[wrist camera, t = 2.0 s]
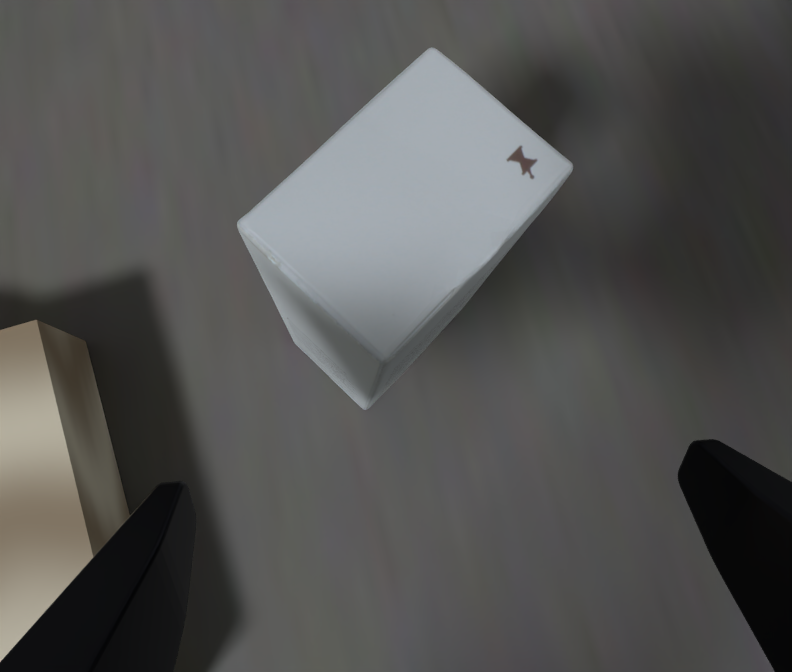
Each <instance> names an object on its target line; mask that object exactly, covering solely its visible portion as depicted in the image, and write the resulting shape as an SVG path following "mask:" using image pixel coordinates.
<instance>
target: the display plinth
mask: <svg viewBox="0 0 792 672" xmlns="http://www.w3.org/2000/svg"><path fill="white" fill-rule="evenodd" d="M129 516H130V514H129V510H128V506H127V502H126V498H125V494H124V490H123V486H122V482H121V478H120V474H119V470H118V467H117V463H116V459H115V455H114V451H113V447H112V443H111V439H110V435H109V431H108V427H107V423H106V419H105V415H104V411H103V407H102V403H101V400H100V396H99V392H98V388H97V384H96V380H95V376H94V372H93V368H92V364H91V360H90V356H89V352H88V348H87V344H86V341H84V340H82V339H80V338H77V337H75V336H73V335H70V334H68V333H66V332H64V331H61V330H59V329H57V328H55V327H52V326H50V325H48V324H45V323H43V322H41V321H39V320H33V321H30V322H27V323H23V324H20V325H16V326H13V327H9V328H6V329H2V330H0V662H1V660H2V659H3V658H4V657H5V656H6V655H7V654H8V653H9V651H10V650H11V649H12V648H13V647H14V646H15V645H16V644H17V642H18V641H19V640H20V639H21V638H22V637H23V636H24V635H25V633H26V632H27V631H28V630H29V629H30V628H31V627H32V626H33V624H34V623H35V622H36V621H37V620H38V619H39V618H40V617H41V615H42V614H43V613H44V612H45V611H46V610H47V609H48V608H49V606H50V605H51V604H52V603H53V602H54V601H55V600H56V599H57V597H58V596H59V595H60V594H61V593H62V592H63V591H64V590H65V588H66V587H67V586H68V585H69V584H70V583H71V582H72V581H73V579H74V578H75V577H76V576H77V575H78V574H79V573H80V572H81V570H82V569H83V568H84V567H85V566H86V565H87V564H88V563H89V561H90V560H91V559H92V558H93V557H94V556H95V555H96V554H97V552H98V551H99V550H100V549H101V548H102V547H103V546H104V545H105V543H106V542H107V541H108V540H109V539H110V538H111V537H112V536H113V534H114V533H115V532H116V531H117V530H118V529H119V528H120V527H121V525H122V524H123V523H124V522H125V521H126V520H127V519H128V518H129Z"/></svg>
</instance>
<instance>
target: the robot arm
mask: <svg viewBox="0 0 792 672" xmlns="http://www.w3.org/2000/svg"><path fill="white" fill-rule="evenodd" d="M678 481H679V484H680V487H681V489H682V492H683V494H684V496H685V498H686V501H687V503H688V505H689V508H690V510H691V512H692V514H693V517H694V519H695V521H696V523H697V526H698V528H699V530H700V533H701V535H702V537H703V539H704V542H705V544H706V546H707V549H708V551H709V553H710V555H711V557H712V559H713V561H714V563H715V565H716V567H717V569H718V571H719V573H720V574H721V576H722V578H723V580H724V582H725V583H726V585H727V587H728V589H729V591H730V592H731V594H732V596H733V598H734V599H735V601H736V603H737V605H738V607H739V608H740V610H741V612H742V614H743V616H744V617H745V619H746V621H747V623H748V624H749V626H750V628H751V630H752V632H753V633H754V635H755V637H756V639H757V641H758V642H759V644H760V646H761V648H762V650H763V651H764V653H765V655H766V657H767V658H768V660H769V662H770V664H771V666H772V667H773V669H774V671H775V672H792V482H790V481H788V480H787V479H785V478H783V477H781V476H780V475H778V474H776V473H774V472H773V471H771V470H769V469H767V468H766V467H764V466H762V465H760V464H759V463H757V462H755V461H753V460H752V459H750V458H748V457H746V456H745V455H743V454H741V453H739V452H738V451H736V450H734V449H732V448H731V447H729V446H727V445H725V444H724V443H722V442H720V441H718V440H714V439H709V440H696V441H693V442H692V443H691V444H690V446H689V447H688V450H687V452H686V454H685V457H684V459H683V461H682V464H681V466H680V468H679V471H678ZM195 531H196V514H195V510H194V506H193V503H192V499H191V495H190V492H189V488H188V486H187V484H186V483H185V482H183V481H177V482H164V483H160V484H159V485H157V486H156V487H155V488H154V489H153V491H152V492H151V493H150V494H149V495H148V496H147V497H146V498H145V500H144V501H143V502H142V503H141V504H140V505H139V506H138V507H137V509H136V510H135V511H134V512H133V513H132V514H131V515H130V516H129V518H128V519H127V520H126V521H125V522H124V523H123V524H122V525H121V527H120V528H119V529H118V530H117V531H116V532H115V533H114V534H113V536H112V537H111V538H110V539H109V540H108V541H107V542H106V543H105V545H104V546H103V547H102V548H101V549H100V550H99V551H98V552H97V554H96V555H95V556H94V557H93V558H92V559H91V560H90V561H89V563H88V564H87V565H86V566H85V567H84V568H83V569H82V570H81V572H80V573H79V574H78V575H77V576H76V577H75V578H74V579H73V581H72V582H71V583H70V584H69V585H68V586H67V587H66V588H65V590H64V591H63V592H62V593H61V594H60V595H59V596H58V597H57V599H56V600H55V601H54V602H53V603H52V604H51V605H50V606H49V608H48V609H47V610H46V611H45V612H44V613H43V614H42V615H41V617H40V618H39V619H38V620H37V621H36V622H35V623H34V624H33V626H32V627H31V628H30V629H29V630H28V631H27V632H26V633H25V635H24V636H23V637H22V638H21V639H20V640H19V641H18V642H17V644H16V645H15V646H14V647H13V648H12V649H11V650H10V651H9V653H8V654H7V655H6V656H5V657H4V658H3V659H2V660H1V662H0V672H174V667H175V663H176V659H177V654H178V650H179V645H180V641H181V637H182V632H183V627H184V622H185V617H186V610H187V602H188V593H189V584H190V575H191V567H192V558H193V549H194V540H195Z"/></svg>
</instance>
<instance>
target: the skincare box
mask: <svg viewBox="0 0 792 672" xmlns="http://www.w3.org/2000/svg"><path fill="white" fill-rule="evenodd" d="M572 170H573V164H572V162H570V161H569V160H568V159H566V158H565V157H564V156H563V155H562V154H560V153H559V152H558V151H557V150H556V149H554V148H553V147H552V146H551V145H549V144H548V143H547V142H546V141H545V140H544V139H542V138H541V137H540V136H539V135H538V134H536V133H535V132H534V131H533V130H532V129H531V128H529V127H528V126H527V125H526V124H525V123H523V122H522V121H521V120H520V119H519V118H518V117H516V116H515V115H514V114H513V113H512V112H511V111H509V110H508V109H507V108H506V107H505V106H504V105H503V104H502V103H500V102H499V101H498V100H497V99H496V98H495V97H494V96H492V95H491V94H490V93H489V92H488V91H486V90H485V89H484V88H483V87H482V86H481V85H480V84H478V83H477V82H476V81H475V80H474V79H473V78H471V77H470V76H469V75H468V74H467V73H466V72H464V71H463V70H462V69H461V68H460V67H458V66H457V65H456V64H455V63H453V62H452V61H451V60H450V59H448V58H447V57H446V56H445V55H443V54H442V53H441V52H439V51H438V50H437V49H435V48H433V47H432V48H428V49H427V50H426V51H425V52H424V53H423V54H422V55H421V56H420V57H418V58H417V59H416V60H415V61H414V62H413V63H412V64H411V65H409V66H408V67H407V68H406V69H405V70H404V71H403V72H402V73H400V74H399V75H398V76H397V77H396V78H395V79H394V80H393V81H392V82H391V83H389V84H388V85H387V86H386V87H385V88H384V89H383V90H382V91H381V92H379V93H378V94H377V95H376V96H375V97H374V98H373V99H372V100H371V101H370V102H368V103H367V104H366V105H365V106H364V107H363V108H362V109H361V110H360V111H359V112H358V113H356V114H355V115H354V116H353V117H352V118H351V119H350V120H349V121H348V122H347V123H345V124H344V125H343V126H342V127H341V128H340V129H339V130H338V131H337V132H336V133H335V134H334V135H333V136H332V137H331V138H329V139H328V140H327V141H326V142H325V143H324V144H323V145H322V146H321V147H320V148H319V149H318V150H317V151H316V152H314V153H313V154H312V155H311V156H310V157H309V158H308V159H307V160H306V161H305V162H304V163H303V164H301V165H300V166H299V167H298V168H297V169H296V170H295V171H294V172H293V173H292V174H290V175H289V176H288V177H287V178H286V179H285V180H284V181H283V182H282V183H280V184H279V185H278V186H277V187H276V188H275V189H274V190H273V191H272V192H271V193H269V194H268V195H267V196H266V197H265V198H264V199H263V200H262V201H261V202H260V203H258V204H257V205H256V206H255V207H254V208H253V209H252V210H251V211H250V212H248V213H247V214H246V215H244V216H243V217H242V218H241V219H240V220H239V221H238V223H237V227H238V230H239V232H240V234H241V236H242V238H243V240H244V243H245V245H246V247H247V249H248V251H249V252H250V254H251V256H252V258H253V260H254V262H255V264H256V266H257V268H258V270H259V272H260V275H261V277H262V278H263V280H264V283H265V285H266V286H267V288H268V290H269V292H270V294H271V296H272V298H273V300H274V302H275V304H276V307H277V309H278V311H279V313H280V315H281V317H282V319H283V321H284V323H285V325H286V327H287V329H288V331H289V333H290V335H291V337H292V339H293V341H294V343H295V344H296V345H297V346H298V347H299V348H300V349H301V350H302V351H303V352H304V353H306V354H307V355H308V356H309V357H310V358H311V359H312V360H313V361H314V362H315V363H316V364H317V365H318V366H319V367H320V368H321V369H322V370H323V371H324V372H325V373H326V374H327V375H328V376H329V377H330V378H331V379H332V380H333V381H334V382H335V383H336V384H337V385H338V386H339V387H340V388H341V389H342V390H343V391H344V392H345V393H346V394H347V395H349V396H350V397H351V398H352V399H353V400H354V401H355V402H356V403H357V404H358V405H359V406H360V407H361V408H363V409H364V410H366V409H369V408H370V407H371V406H372V405H373V404H374V403H375V402H376V401H377V400H378V399H379V398H380V397H381V395H382V394H383V393H384V392H385V391H386V390H387V389H388V388H389V387H390V386H391V385H392V384H393V383H394V382H395V381H396V380H397V379H398V378H399V377H400V376H401V375H402V374H403V373H404V372H405V371H406V369H407V368H408V367H409V366H410V365H411V364H412V363H413V362H414V361H415V360H416V359H417V358H418V357H419V355H420V354H421V353H422V352H423V351H424V350H425V349H426V348H427V347H428V346H429V345H430V343H431V342H432V341H433V340H434V339H435V338H436V337H437V336H438V335H439V334H440V333H441V331H442V330H443V329H444V328H445V327H446V326H447V325H448V324H449V323H450V322H451V321H452V319H453V318H454V317H455V316H456V315H457V314H458V313H459V312H460V311H461V310H462V308H463V307H464V306H465V305H466V303H467V302H468V301H469V300H470V298H471V297H472V296H473V295H474V294H475V292H476V291H477V290H478V289H479V287H480V286H481V285H482V284H483V282H484V281H485V280H486V278H487V277H488V276H489V275H490V274H491V272H492V271H493V270H494V268H495V267H496V266H497V265H498V264H499V262H500V261H501V260H502V259H503V257H504V256H505V255H506V254H507V253H508V251H509V250H510V249H511V248H512V246H513V245H514V244H515V243H516V242H517V240H518V239H519V238H520V237H521V235H522V234H523V233H524V232H525V231H526V229H527V228H528V227H529V226H530V224H531V223H532V222H533V221H534V220H535V219H536V217H537V216H538V215H539V214H540V213H541V212H542V210H543V209H544V208H545V207H546V206H547V204H548V203H549V202H550V200H551V199H552V198H553V197H554V195H555V194H556V193H557V191H558V190H559V189H560V187H561V186H562V185H563V184H564V182H565V181H566V179H567V178H568V177H569V175H570V174H571V173H572Z"/></svg>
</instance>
